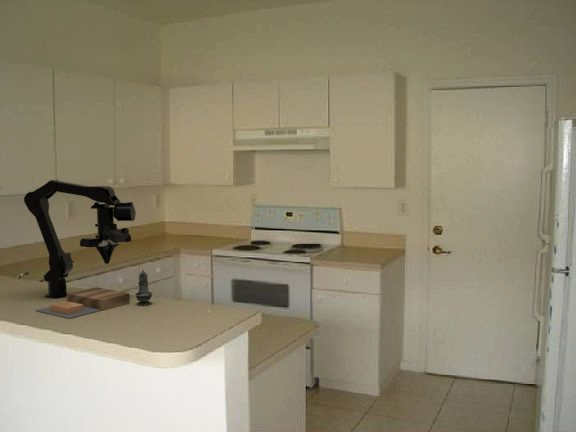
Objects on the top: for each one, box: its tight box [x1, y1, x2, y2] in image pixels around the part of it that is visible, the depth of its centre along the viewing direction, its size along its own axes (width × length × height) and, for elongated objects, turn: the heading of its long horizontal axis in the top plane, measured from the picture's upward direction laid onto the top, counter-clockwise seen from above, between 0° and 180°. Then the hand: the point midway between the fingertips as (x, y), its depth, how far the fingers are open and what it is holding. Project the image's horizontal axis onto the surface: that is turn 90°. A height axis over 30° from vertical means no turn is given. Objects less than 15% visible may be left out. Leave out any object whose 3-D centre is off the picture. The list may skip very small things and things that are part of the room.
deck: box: [66, 286, 131, 312], centre depth 201 cm, size 18×12×4 cm, turn 56°
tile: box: [49, 300, 84, 315], centre depth 190 cm, size 9×6×2 cm, turn 57°
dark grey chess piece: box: [134, 269, 153, 307], centre depth 199 cm, size 6×6×12 cm
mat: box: [35, 306, 102, 320], centre depth 191 cm, size 18×12×1 cm, turn 56°
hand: (107, 263), depth 211 cm, fingers closed
